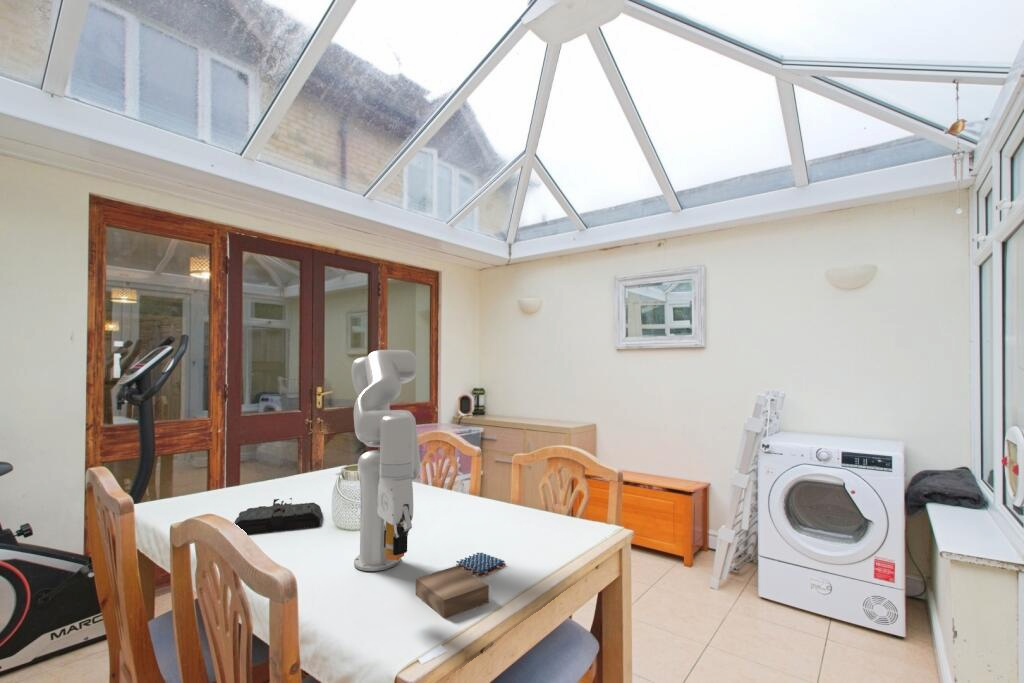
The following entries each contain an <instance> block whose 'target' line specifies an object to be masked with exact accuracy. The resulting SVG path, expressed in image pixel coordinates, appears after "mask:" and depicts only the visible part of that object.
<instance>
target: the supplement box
mask: <svg viewBox="0 0 1024 683" xmlns="http://www.w3.org/2000/svg"><path fill="white" fill-rule="evenodd" d="M400 521H403V519H400ZM400 527H403V525H399V529H400ZM393 537H395V530H394V525H391V524H389V523H388V522H387V525H386V546H385V558H386V559H389V560H394V561H397V560H399V559H400V560H401V559H402V558H403V557H405V553H403V554H399V555H396V556H395V555H393Z"/></svg>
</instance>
